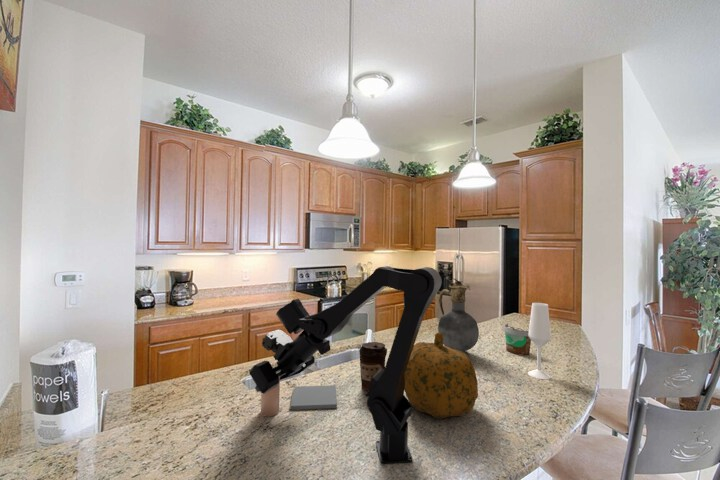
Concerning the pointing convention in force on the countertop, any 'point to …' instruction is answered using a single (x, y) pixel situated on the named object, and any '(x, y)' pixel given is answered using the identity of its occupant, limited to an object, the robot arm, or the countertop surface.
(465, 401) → the decorative pumpkin
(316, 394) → the mat
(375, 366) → the coffee cup
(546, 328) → the champagne flute
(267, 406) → the terracotta canister
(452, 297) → the pitcher
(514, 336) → the food container
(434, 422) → the countertop surface
